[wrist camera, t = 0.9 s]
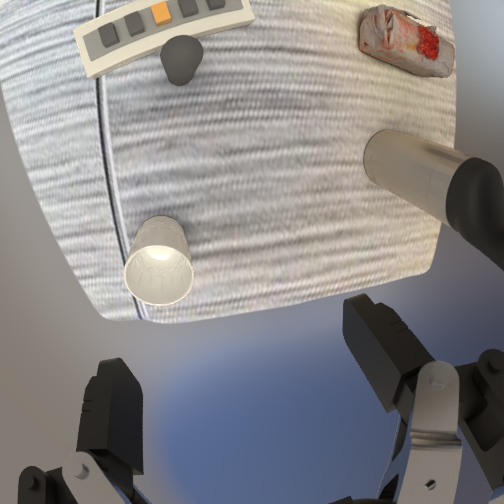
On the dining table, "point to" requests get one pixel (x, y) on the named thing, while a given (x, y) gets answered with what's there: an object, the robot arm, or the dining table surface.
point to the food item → (405, 42)
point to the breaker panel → (152, 29)
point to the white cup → (159, 263)
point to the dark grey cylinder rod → (181, 58)
